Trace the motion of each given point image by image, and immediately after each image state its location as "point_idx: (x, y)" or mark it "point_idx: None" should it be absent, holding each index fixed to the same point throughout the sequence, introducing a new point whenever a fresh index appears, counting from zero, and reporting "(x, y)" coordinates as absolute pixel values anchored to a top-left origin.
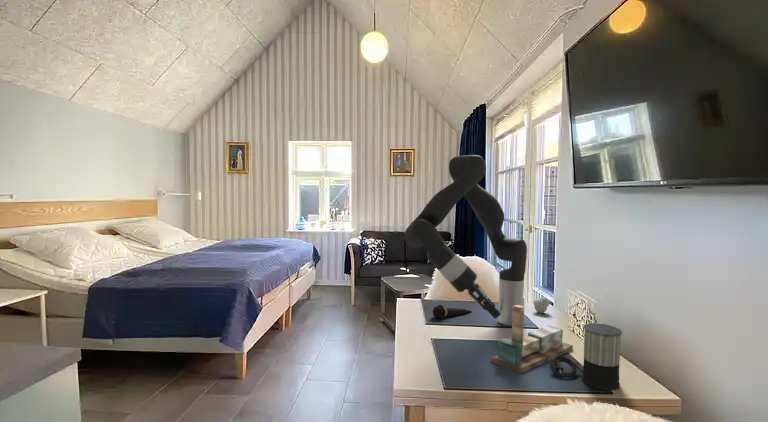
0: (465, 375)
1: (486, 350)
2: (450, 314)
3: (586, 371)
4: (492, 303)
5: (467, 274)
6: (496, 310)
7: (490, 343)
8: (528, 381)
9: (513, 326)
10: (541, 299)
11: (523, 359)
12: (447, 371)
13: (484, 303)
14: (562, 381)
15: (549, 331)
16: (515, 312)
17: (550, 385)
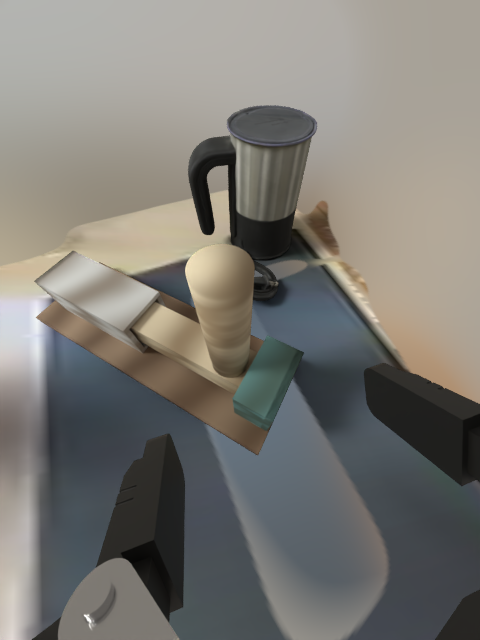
0: (414, 532)
1: None
2: None
3: (280, 237)
4: (165, 459)
5: None
6: (412, 382)
7: (79, 490)
8: (332, 345)
9: (244, 343)
10: None
11: None
12: (435, 631)
13: (181, 560)
14: (291, 287)
15: (98, 277)
16: (251, 296)
17: (324, 305)
